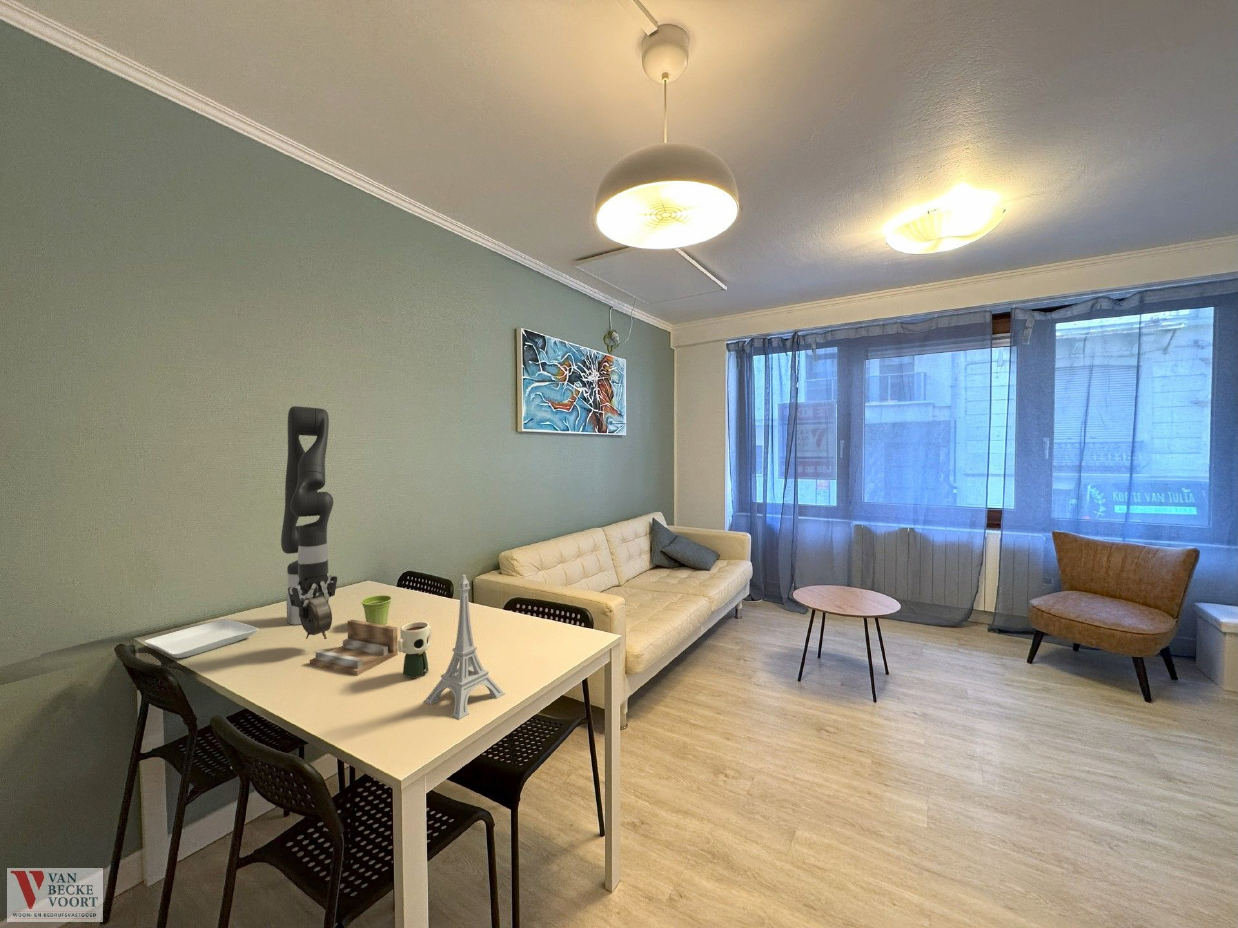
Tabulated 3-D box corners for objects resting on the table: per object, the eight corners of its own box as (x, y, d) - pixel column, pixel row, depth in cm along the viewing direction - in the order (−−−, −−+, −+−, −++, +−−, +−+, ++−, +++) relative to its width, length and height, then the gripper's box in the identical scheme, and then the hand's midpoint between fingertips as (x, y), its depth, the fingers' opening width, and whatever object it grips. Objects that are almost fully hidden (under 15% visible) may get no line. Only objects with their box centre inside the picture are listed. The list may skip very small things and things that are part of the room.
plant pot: (398, 620, 166) (397, 595, 166) (381, 630, 156) (381, 604, 156) (372, 619, 167) (372, 594, 166) (355, 629, 157) (354, 603, 157)
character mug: (409, 686, 120) (409, 635, 119) (389, 680, 123) (388, 631, 122) (441, 667, 130) (440, 620, 130) (421, 663, 133) (420, 617, 132)
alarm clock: (333, 638, 141) (333, 584, 140) (313, 644, 136) (313, 588, 135) (315, 629, 146) (314, 577, 146) (295, 635, 142) (295, 581, 141)
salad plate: (142, 650, 142) (141, 639, 141) (227, 626, 160) (227, 616, 160) (174, 666, 132) (173, 653, 132) (260, 638, 151) (260, 628, 150)
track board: (309, 664, 132) (309, 635, 132) (352, 645, 145) (351, 619, 144) (357, 675, 126) (356, 645, 125) (397, 654, 138) (397, 627, 138)
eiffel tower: (470, 679, 124) (469, 565, 123) (505, 694, 116) (504, 573, 115) (423, 701, 113) (422, 577, 112) (459, 720, 105) (457, 586, 104)
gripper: (326, 552, 148) (327, 606, 149) (279, 563, 135) (280, 622, 135) (344, 555, 145) (344, 609, 146) (297, 566, 132) (298, 626, 133)
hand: (314, 615), depth 141 cm, fingers closed on alarm clock, 5 cm apart
